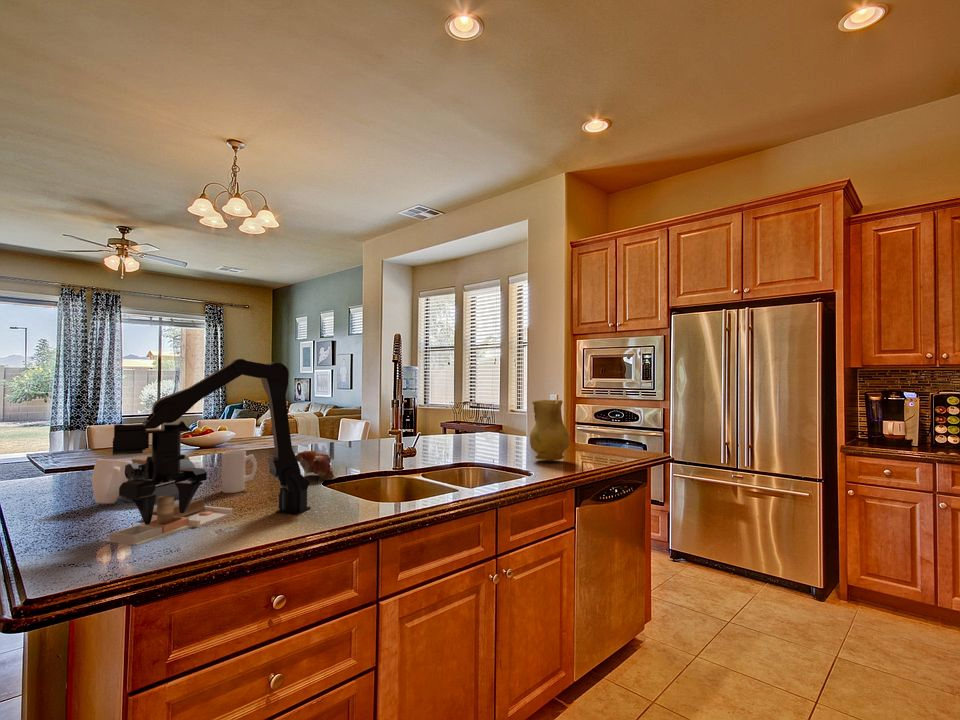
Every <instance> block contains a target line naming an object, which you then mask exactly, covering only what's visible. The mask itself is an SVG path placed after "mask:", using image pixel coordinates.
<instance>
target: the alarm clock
mask: <svg viewBox="0 0 960 720" xmlns="http://www.w3.org/2000/svg"><path fill="white" fill-rule="evenodd" d="M184 455H185V459H182V460H180V470H181V469H186V468H196V466H195V464H194V463H193V461H191V460H190V458H189V456H188V455H186V454H184ZM149 456H152V454H150V455H148V456H140V457H135V458H134V457H133V458H132V459H130V461H132V463H137V464H138V465H143V464H146V459H147V457H149ZM132 480H133V478H130V479H129V480H128V481H132ZM143 480H144V479H143ZM149 480H150V481H151V480H152V479H149ZM169 481H170V480H169ZM160 483H162V482H160ZM153 495H156V498H155V503H157V497H160V496H165V495H174V500H179V490H178V488H177V487H176V485H175V483H174V484H170V485H166V486H162V487H158V488H155V491H154V492H153ZM121 497H122V498H123V501H124V502H128V503H135V502H134V501H132V500H131V499H127V498H125V496H121Z"/></svg>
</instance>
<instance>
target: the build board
mask: <svg viewBox="0 0 960 720" xmlns="http://www.w3.org/2000/svg"><path fill="white" fill-rule="evenodd" d="M189 528H194V527H193V525H192V524H189V518H186V517H177V516H174V522H172V523H169V524H166V525H160V524H157V519H153V520H151V522H150V524H149V525H146V524H145V523H144V522H141V523H139V524H136V525H132V526H128V527H125V528H123V529H119V530H116V531H113V532H110V533H108V534H109V535H108V536H109V537H108V538H106V539H105V540H104V541H105V542H108V541H109V543H116V542H117V544H124V545H125V544H126V545H132V546H141V545H142V544H146V543H149V542H153V541H155V540H157V539H160V538H163V537H166V536H169V535H172V534H175V533H178V532H181V531H184V530H186V529H189Z"/></svg>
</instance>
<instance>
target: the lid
mask: <svg viewBox="0 0 960 720" xmlns="http://www.w3.org/2000/svg"><path fill="white" fill-rule="evenodd" d="M205 499H206V498H204V497H203V498H202V497H201V498H198V499H194V500H191V501H190V503H189V505H188V507H187V509H186V511H185V513H180V511H179V501H174V516H177V517H182V516H185V515H188V514H191V513H194V512H197V511H200V510H203V509H205V506H206V504H205ZM152 515H157V506H154V509H153V514H152Z"/></svg>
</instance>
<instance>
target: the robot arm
mask: <svg viewBox="0 0 960 720" xmlns="http://www.w3.org/2000/svg"><path fill="white" fill-rule="evenodd" d="M289 373H290V372H289V369H288V367H287V366H286V365H285V364H283V363H280V362H269V363H262V362H256V361H249V360H246V359H244V358H236V359H233V360H232V361H231V362H230V363H229V364H227V365H225V366H223V367H222V368H219V369H218V370H217V371H215V372H213V373H212V374H209V375H208V376H206V377H205V378H203V379H201V380H199V381H197V382H196V383H194V384H193V385H190V386H189V387H187V388H185V389H182V390H180V391H176V392H174V393H171V394H168V395H165V396H163V397H160V398H158V399H157V400H155V401H154V403H153V404H152V407H151V413H150V414H149V415H148V416H147V418H145V419H144V421H143V422H142V423H138V424H137V423H136V424H135V423H134V424H123V423H118V424H117V423H116V424H114V425H113V438H112V456H121V455H123V456H125V455H126V456H127V455H137V454H143V452H144V450H146V449H149V446H150V434H151V455H152V456H149V455H148V456H149V457H147V459H146V464H143V465H138V464H137V463H132V464H128V465H125V476H126V478H127V479H130V478H133V480H132V481H128V482H123V483H122V484H121V485H120V487H119V497H122V496H125V498H127V499H131V500H132V501H134V502H133V503H134V504H135V506H136V507H137V509H138V512H139V513H140V516H141V518H142V520H143V523H145V524H146V525H149V524H150V522H151V519H152V514H153V509H154V507H155V504H156V502H155V498H156V495H153V492H154V491H155V488H158V487H162V486H166V485H170V484H174V483H175V485H176V487H177V488H178V490H179V498H178V502H179V511H180V513H185V511H186V509H187V507H188V505H189V503H190V501H192V499H193V497H194V496H195V494H196V492H197V490H199V487H200V486H201V485H203V482H204V481H207V480H208V479H207V478H208V477H207V476H208V473H207V471H206V470H205V468H201V467H200V468H199V467H195V468H186V469H181V470H180V460H182V459H185V455H186V454H182V453H181V451H182V450H181V448H182V445H181V443H182V442H181V439H182V432H190V431H191V428H190V427H189V426H187V425H186V423H185V422H184V420H180V421H179V422H178V423H175V424H172V423H174V422H176V421H178V420H179V419H180V418H181V417H183V415H185V414H186V413H187V412H188V411H189V410H190V409H192V408H193V407H194V406H195V404H197V403H198V402H199V401H201V400H202V399H204V398H205V397H207V396H209V395H211V394H212V393H214V392H216V391H217V390H219V389H221V388H222V387H224V386H225V385H228V384H229V383H230V382H232V381H234V380H236V379H237V378H239V377H241V376H247V377H252V378H258V379H260V381H261V384H262V387H263V389H264V392H265V393H266V396H267V398H268V406H269V412H270V413H269V414H270V422H271V430H272V437H273V445H274V452H273V456H272V457H268V458H267V460H268V463H269V471H268V473H269V474H271V476H272V477H273V479H275V480H276V481H278V482H279V484H280V486H281V487H280V488H279V493H278V510H276V511H275V514H284V515H293V516H294V515H299V514H301V513H304V512H305V511H308V510H310V509H311V506H308V488H309V486H310V481H309V480H308V479H307V478H306V477H305V476H304V475H303V474H301V473H302V471H301V468H300V463H299V462H298V461H297V459H296V454H295V451H294V449H293V446H292V445H293V444H292V437H291V429H290V420H289V413H288V412H289V411H288V404H287V392H288V388H289V378H290V377H289V376H290V375H289ZM161 425H163V427H162V428H158V427H159V426H161ZM157 428H158V429H157ZM143 479H144V480H143ZM149 479H152V480H151V481H150V480H149ZM169 480H170V481H169ZM160 482H162V483H160Z"/></svg>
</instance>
